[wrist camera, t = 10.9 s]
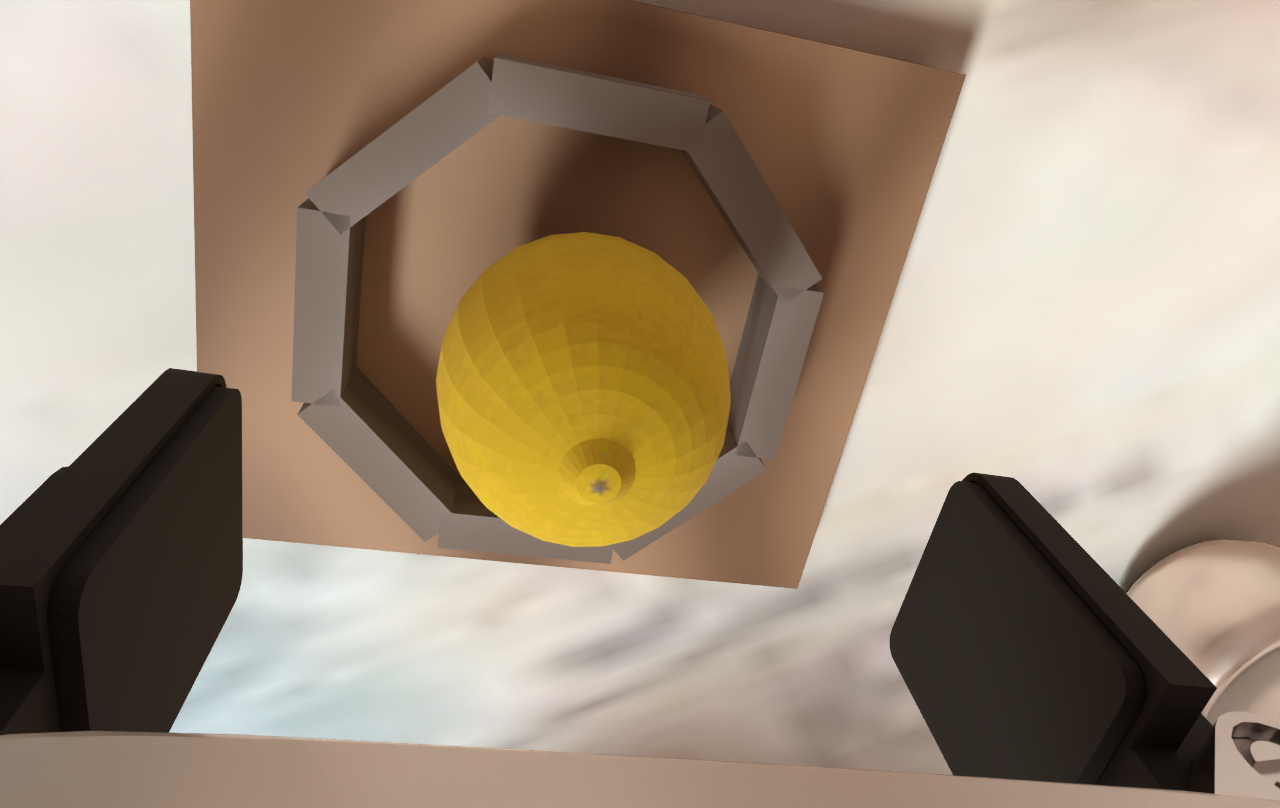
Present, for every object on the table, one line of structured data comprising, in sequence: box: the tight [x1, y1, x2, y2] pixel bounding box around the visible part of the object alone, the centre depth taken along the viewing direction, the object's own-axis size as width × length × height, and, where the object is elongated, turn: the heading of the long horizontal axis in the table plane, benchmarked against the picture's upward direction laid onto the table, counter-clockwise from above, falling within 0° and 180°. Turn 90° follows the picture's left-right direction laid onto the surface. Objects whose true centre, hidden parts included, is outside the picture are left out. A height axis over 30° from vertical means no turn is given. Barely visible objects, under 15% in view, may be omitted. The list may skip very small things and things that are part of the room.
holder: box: [190, 0, 966, 589], centre depth 20 cm, size 16×14×3 cm
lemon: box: [436, 232, 731, 547], centre depth 16 cm, size 6×6×8 cm
